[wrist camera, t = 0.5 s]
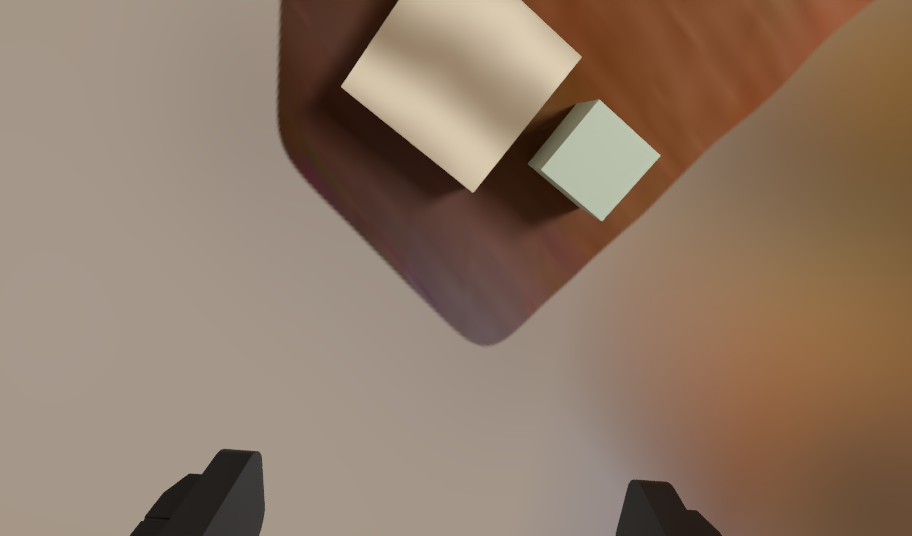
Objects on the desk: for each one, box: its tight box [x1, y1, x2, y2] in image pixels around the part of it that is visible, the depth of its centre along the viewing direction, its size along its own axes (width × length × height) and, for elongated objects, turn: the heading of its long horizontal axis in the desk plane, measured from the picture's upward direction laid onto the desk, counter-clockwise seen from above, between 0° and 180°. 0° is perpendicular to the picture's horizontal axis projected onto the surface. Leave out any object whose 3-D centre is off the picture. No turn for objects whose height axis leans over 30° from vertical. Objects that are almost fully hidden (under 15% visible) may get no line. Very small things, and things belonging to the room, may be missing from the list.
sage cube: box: [528, 100, 660, 221], centre depth 29 cm, size 5×5×5 cm
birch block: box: [341, 0, 581, 193], centre depth 28 cm, size 10×10×4 cm
